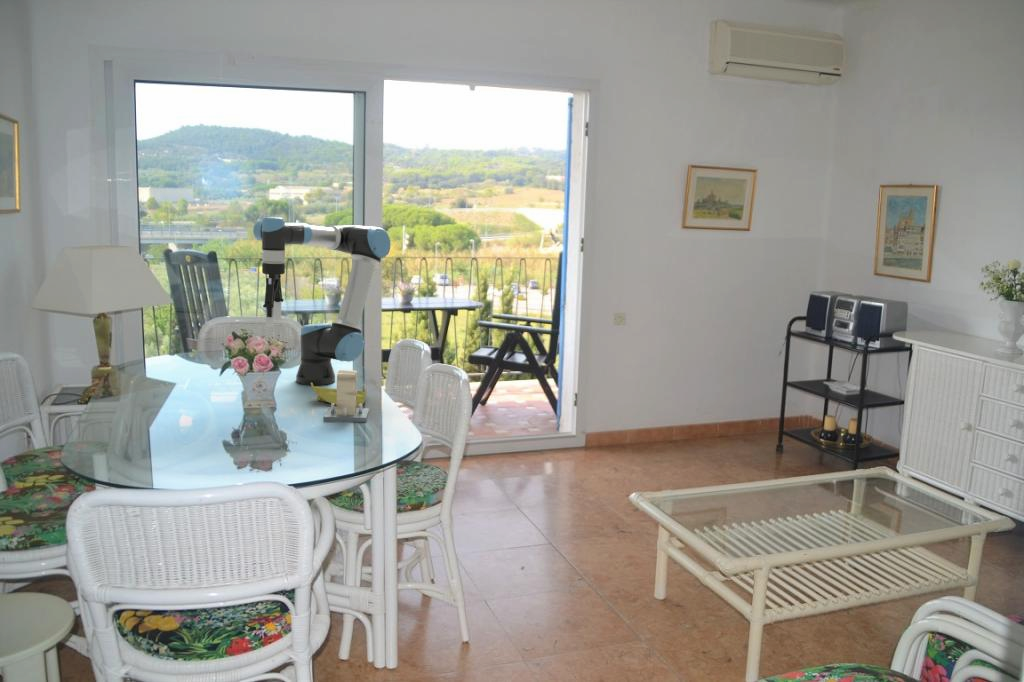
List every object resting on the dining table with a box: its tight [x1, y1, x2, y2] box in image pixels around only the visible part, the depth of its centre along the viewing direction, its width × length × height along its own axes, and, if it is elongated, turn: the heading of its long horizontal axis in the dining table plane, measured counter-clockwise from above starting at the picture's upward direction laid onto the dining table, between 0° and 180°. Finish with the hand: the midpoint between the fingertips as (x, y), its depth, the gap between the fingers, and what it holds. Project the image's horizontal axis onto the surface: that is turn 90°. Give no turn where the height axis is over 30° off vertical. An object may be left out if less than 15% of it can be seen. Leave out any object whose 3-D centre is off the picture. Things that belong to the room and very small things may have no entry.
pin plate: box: [323, 403, 370, 423], centre depth 277 cm, size 12×14×4 cm
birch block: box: [336, 369, 358, 415], centre depth 276 cm, size 6×6×14 cm
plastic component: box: [310, 383, 367, 407], centre depth 296 cm, size 20×7×10 cm
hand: (273, 323), depth 285 cm, fingers open, 13 cm apart
